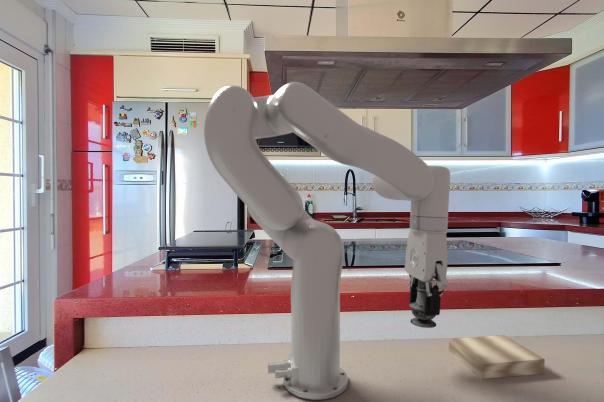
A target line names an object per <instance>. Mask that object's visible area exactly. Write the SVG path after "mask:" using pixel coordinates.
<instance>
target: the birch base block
mask: <svg viewBox="0 0 604 402" xmlns="http://www.w3.org/2000/svg"><path fill="white" fill-rule="evenodd" d="M448 352H449V353H450V354H451V356H454V357H455V358H456V359H457V360H458V361H460V362H461V363H462V364H463V365H465V366H466V367H467V368H468V369H469V370H471V371H472V372H473V373H474V374H476V376H478V377H479V378H480V379H482V380H483V379H485V380H486V379H495V378H507V377H516V376H517V377H518V376H528V375H529V376H530V375H538V374H539V375H540V374H545V366H546V365H545V363H546V362H545V358H544V357H542V356H540V355H539V354H537V353H536V352H534V351H532V350H531V349H529V348H527V347H526V346H523V345H522V344H520V343H519V342H518V341H517V342H516V341H515V340H513V339H511V337H508V336H506V335H505V334H501V335H500V334H499V335H487V336H486V335H485V336H484V335H483V336H472V337H470V336H469V337H458V338H456V337H455V338H449V339H448Z"/></svg>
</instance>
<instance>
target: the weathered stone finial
mask: <svg viewBox="0 0 604 402" xmlns="http://www.w3.org/2000/svg"><path fill="white" fill-rule="evenodd" d="M431 280H434V278H431ZM432 288H433V284H431V289H432ZM416 289H417V290H418V291H417V299H416V302H413V303H411V304H410V303H409V307H410V311H411V314H412V315H413V316H414V317H413V318H411V319H410V321H409V322H410V324H411V325H414V326H416V327H420V328H425V329H432V328H435V327H437V323H436V322H435V321H434V320H433V319H434V318H435V317H436V316H437V315H425V314H424V301H425V295H427V291H426V283H425V282H422V281H420V280H418V287H416Z"/></svg>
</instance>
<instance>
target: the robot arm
mask: <svg viewBox="0 0 604 402" xmlns="http://www.w3.org/2000/svg"><path fill="white" fill-rule="evenodd" d="M203 125H204V127H203V136H204V144H205V147H206V151H207V155H208V157H209V160H210V162H211V164H212V165H213V168H214V170H216V172H217V173H218V174H219V176H220V177H221V178H222V179H223V180H224V182H225V183H226V184H227V185H228V187H230V189H231V190H232V191H233V192H234V194H235V195H236V196H237V197H238V198H239V199H240V200H241V201H242V203H244V204H245V206H246V207H247V211H248V214H249V215H250V217H251V218H252V219H253V221H254V222H255V223H256V224H257V225H258V226H259V227H260V228H261V229H262V230H263V232H264V233H266V235H267V236H268V237H269V238H270V239H271V240H272V241H273V242H274V243H275V244H276V246H278V248H280V249H281V250H282V251H283V253H284V254H286V255H287V257H289V258H290V259H291V260H292V264H293V265H292V275H291V282H290V283H291V284H290V313H291V314H290V323H291V325H290V327H291V328H290V329H291V331H290V333H291V334H290V341H291V342H290V348H291V349H290V350H291V351H290V354H288V355H287V356H288V358H287V359H285V360H283V362H282V361H281V362H280V361H279V362H277V361H275V362H267V374H274V378H275V379H282V380H283V381H282V383H283V386H284V388H285V389H286V390H287V391H288V392H289V393H290V394H292V395H294V396H296V397H298V398H302V399H305V400H312V401H313V400H316V401H318V400H320V401H321V400H327V399H331V398H334V397H337V396H339V395H341V394H342V393H343V392H345V391H346V389H347V387H348V384H349V377H348V374H347V372H346V371H345V370H344V369H343V368H341V366H340V365H341V350H340V349H341V277H342V271H343V265H344V259H345V248H344V242H343V239H342V238H341V235H340V234H339V233H338V232H337V230H336V229H335V228H334V227H333V226H331V225H329V224H327V223H325V222H322V221H319V220H315V219H314V218H313V217H312V216H311V215H310V214H309V213H308V212H307V210H305V209H304V205H303V203H304V202H303V199H302V198H301V195H300V194H299V192H298V190H297V189H296V188H295V187H294V186H293V185H291V183H290V182H289V181H288V180H287V179H286V178H285V177H284V176H283V175H282V173H280V172H279V171H278V169H277V168H276V167H275V166H274V165H273V164H272V163H271V161H270V160H269V158H268V157H266V155H265V154H264V153H263V151H262V150H261V149H260V147H259V146H258V143H257V141H256V140H257V139H264V138H265V139H266V138H272V137H273V138H274V137H278V136H285V135H288V134H289V135H290V134H291V133H294V134H295V135H296V136H298V137H299V138H301V139H302V140H303V141H304V142H307V143H308V145H311V147H314V149H316V150H318V152H320V153H321V154H323V155H324V156H326V157H327V158H328V159H330V160H332V161H334V162H337V163H339V164H341V165H345V166H349V167H352V168H353V167H354V168H357V169H359V170H363V171H365V172H368V173H370V174H371V175H373V176H372V186H373V189H374V191H375V192H376V193H377V194H378V196H380V197H382V198H384V199H387V200H393V201H394V200H395V201H410V214H409V215H410V216H409V232H408V236H407V242H406V248H405V249H406V250H405V260H404V271H405V273H407V274H408V277H409V285H410V286H409V301H408V302H409V305H410V304H411V303H413V302H416V299H417V291H418V290H417V289H416V287H418V280H420V281H422V282H425V283H426V291H427V295H425V301H424V314H425V315H436V316H440V313H441V300H442V299H441V298H442V297H443V292H445V289H446V287H448V285H449V282H448V279H447V271H448V242H447V241H448V240H447V233H448V225H449V221H448V220H449V208H450V207H449V205H450V204H449V203H450V187H451V186H450V185H451V172H450V169H449V168H447V167H446V166H443V165H442V166H441V165H440V166H439V165H428V164H427V163H426V162H425V161H424V160H423V159H422V158H420V156H418V155H417V154H415V153H414V151H411V150H410V149H408V148H407V147H406V146H404V145H403V144H402V143H399V142H398V141H396V140H394V139H392V138H390V137H388V136H387V135H384V134H382V133H379V132H377V131H375V130H373V129H371V128H368V127H365V126H364V125H362V124H359V123H358V122H356V121H355V120H354V119H352V118H351V117H350V116H348V115H347V114H346V113H344V112H343V111H341V110H340V109H339V108H338V107H336V106H335V105H333V104H332V103H331V102H330V101H328V100H327V99H325V97H323V96H321V94H319V93H318V92H316V91H315V90H314V89H312V88H311V87H309V86H308V85H306V84H305V83H302V82H301V81H300V82H299V81H292V82H288V83H286V84H283V86H281V87H280V88H279V89H278V90H277V91H275V92H274V94H269V95H263V96H257V97H256V96H255V97H254V96H253V95H252V94H251V92H250V91H248V90H247V89H245V88H243V87H242V86H240V85H234V84H233V85H226V86H224V87H222V88H220V89H219V90H217V92H216V93H215V94H214V95H213V96H212V98H211V100H210V102H209V104H208V107H207V111H206V114H205V119H204V124H203ZM431 278H433V280H431ZM431 284H432V289H431ZM433 284H435V285H433Z"/></svg>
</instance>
